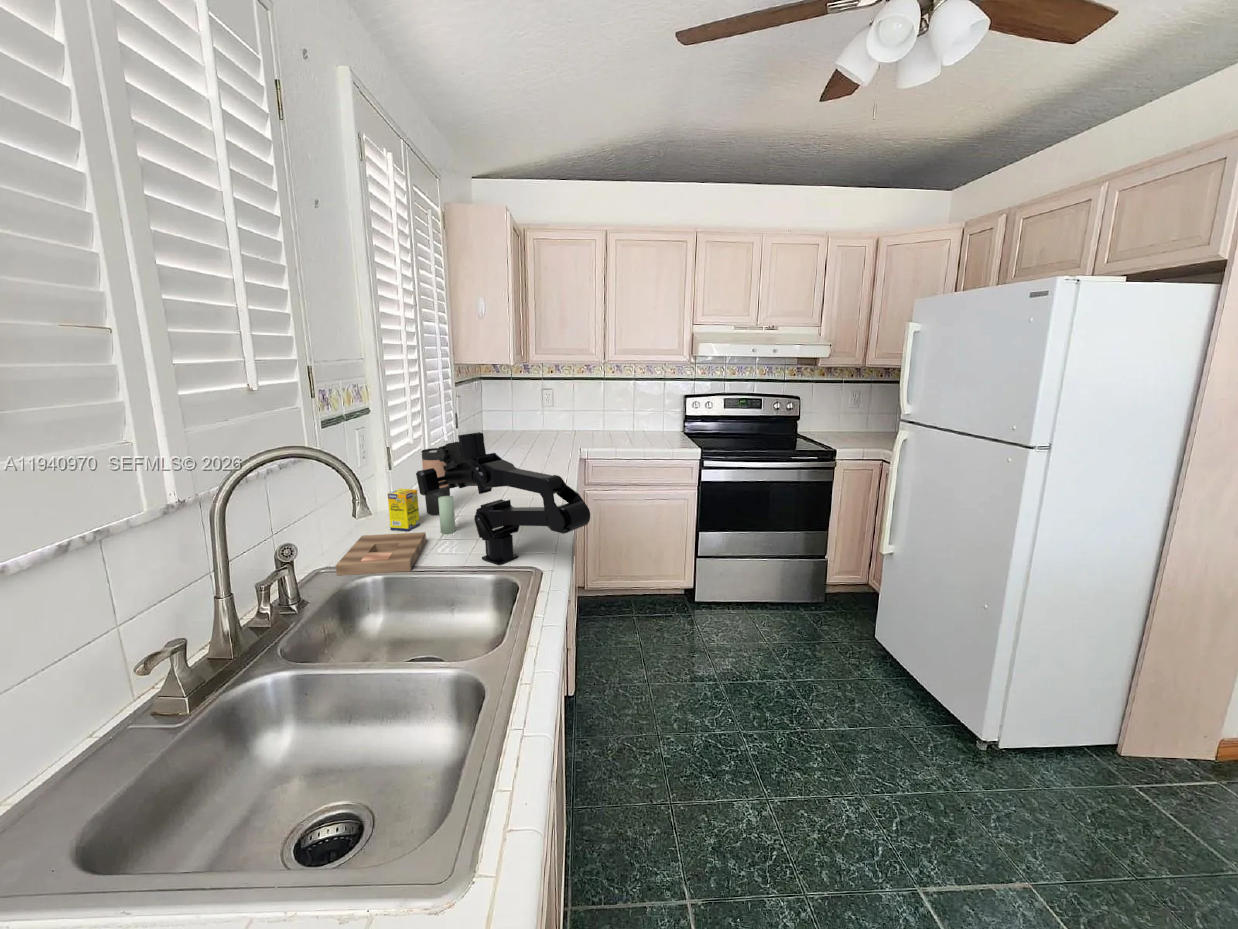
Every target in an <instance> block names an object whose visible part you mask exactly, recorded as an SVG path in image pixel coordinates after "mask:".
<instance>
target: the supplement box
mask: <svg viewBox="0 0 1238 929" xmlns="http://www.w3.org/2000/svg"><path fill="white" fill-rule="evenodd" d="M418 499H419V498H418V489H413V488H411V489H410V488H398V489H396V490H393V491H391V492H388V493H387V504H388V515H389V525H390V526H389V527H390V530H391V531H401V532H410V531H411V530H414V529H415V528H416V527H419V526H420V525H421V524H420V523H421V522H420V512H419V510H420V509H419V508H420V507H419V500H418Z"/></svg>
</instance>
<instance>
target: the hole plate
mask: <svg viewBox="0 0 1238 929" xmlns="http://www.w3.org/2000/svg"><path fill="white" fill-rule="evenodd" d="M426 542H427V536H426V532H425V531H424V532H407V533H406V532H405V533H403V532H402V533H386V534H367V535H366V534H365V535H361V537H359V538H358V539H357V541H356V542H355V543H354V544H353V545H352V547H350V549H348V551H347V552H346V553H345V554H344V556H342V558H341V559H340V560H339V561H337V563H336V564H335V572H336V576H338V577H339V576H349V575H351V576H352V575H368V574H369V575H371V574H381V573H383V574H385V573H399V572H400V573H401V572H410V571H412V569H413V566H414V564H415V563H416V561H417V560H418V557H419V556H418V555H420V553H421V551H422V549H423V548H424V546H425V545H426Z"/></svg>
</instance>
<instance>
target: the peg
mask: <svg viewBox="0 0 1238 929" xmlns="http://www.w3.org/2000/svg"><path fill="white" fill-rule="evenodd" d="M438 501H439V515H438V516H439V525H440V534H443V535H450V534H454V533H455V532H456V519H455V518H456V516H455V501H454V496H452V495H450V496H442V497H439V498H438Z"/></svg>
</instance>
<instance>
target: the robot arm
mask: <svg viewBox="0 0 1238 929" xmlns="http://www.w3.org/2000/svg"><path fill="white" fill-rule="evenodd" d="M457 437H458V441H453V442H449V443H448V442H447V443H446V444H445V445H443V446H442V445H441V446H438V448H439V450H438V451H437V452H436V454H437V457H438V459H439V461H440V462H444V463H445V464H446V465H444V466H443V468H444V471H446V472H445V476H441V477H437V472H436V471H435V469H434V468H430V469H425V470H423V469H421V470H417V472H416V473H415V475H416V479H417V485H418V490H419V494H420V495H421V496H425V495H430V494H434V493H437V492H439V489H440V487H439V486H442V485H446V484H448V485H449V489H450V490H451V489H455V488H458V489H464V488H467V487H477V491H478V494H479V495H482V494H485V493H490V492H492V489H493V488H499V487H500V488H501V487H510V488H514V489H519V490H523V491H528V492H531V493H536V494H539V495H540V496H541V498H542V500H543V501H542V502H543V506H537V507H536V506H532V507H531V506H530V507H529V506H527V507H524V506H523V507H517V506H516V507H515V506H513V505H512V504H511V499H508V500H504V499H498V500H494V501H491V502H487V503H484V504H481V505H480V507H478V508H477V509H476V512H475V515H474V518H473V519H474V523H475V528H476V530H477V534H478V537H479V539H480V538H481V539H482V541H484V542H485V544H484V545H485V555H483V556H482V557H481V560H484V561H486V562H490V563H492V564H494V565H498V566H500V565H503V564H505V563H507V562H509V561H512V560H514V559H517V558H519V554H517V553H514V543H513V541H514V540H513V534H515V533H518V532H519V529H520V527H523V526H524V527H547V528H548V529H549V530H550V531H551V532H554V533H558V534H562V535H564V534H567V533H570V532H573V531H575V530H578V529H580V528H582V527H586V526H587V525H588V524H589V523H590V520H591V512H590V511H591V510H590V508H589V506H588V505H587V504H586V502H585V501H584V499H583V498H582V496H581V495H580V494H579V493H578V492H577V491H575V489H573V488H572V487H570V486H569V485H567V483H566V482H565V481H564V478H563V477H562V476H560V475H557V474H547V473H541V472H537V471H532V470H527V469H521V468H517V467H516V466H515V465H514V463H513V462H509V461H507V460H504V459H503V458H501V457H500V456H499V455H498V454H497V453H496V452H491V453H487V452H486V446H485V437H484V432H480V431H479V432H473V433H472V432H471V433H463V434H459V435H457ZM444 480H446V481H444ZM440 481H442V482H440ZM554 494H556V496H558V497H559V498H561V499H562V500H564V501H565V502H566V503H564V504H560V505H557V503H556V501H555V496H554Z"/></svg>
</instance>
